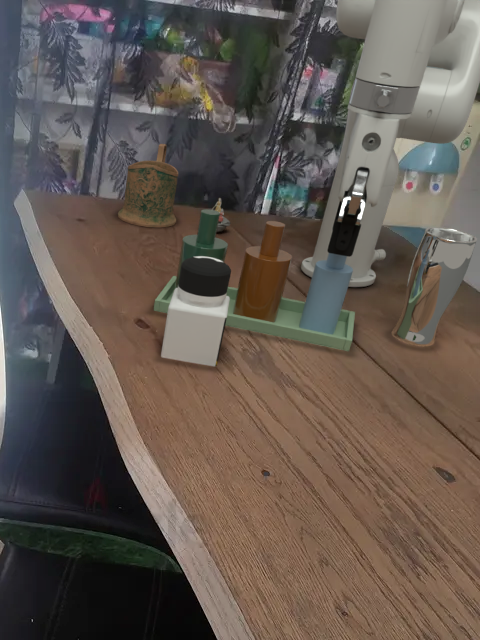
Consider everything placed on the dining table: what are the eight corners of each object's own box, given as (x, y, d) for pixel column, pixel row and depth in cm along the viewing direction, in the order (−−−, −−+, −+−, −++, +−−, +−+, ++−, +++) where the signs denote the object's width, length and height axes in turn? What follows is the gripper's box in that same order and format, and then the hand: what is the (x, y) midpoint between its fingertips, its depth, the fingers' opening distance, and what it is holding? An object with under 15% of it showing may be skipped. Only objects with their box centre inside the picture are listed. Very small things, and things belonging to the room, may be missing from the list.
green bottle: (196, 293, 112) (212, 203, 105) (224, 308, 108) (243, 216, 101) (164, 298, 109) (177, 207, 101) (192, 314, 105) (208, 220, 97)
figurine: (226, 229, 144) (232, 196, 141) (230, 235, 141) (237, 202, 137) (199, 226, 144) (205, 194, 140) (203, 233, 140) (209, 200, 137)
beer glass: (436, 336, 108) (476, 232, 99) (437, 354, 103) (480, 246, 94) (387, 326, 110) (423, 223, 101) (386, 343, 104) (424, 235, 95)
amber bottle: (254, 304, 111) (275, 215, 103) (285, 320, 107) (309, 228, 99) (223, 311, 107) (242, 218, 100) (254, 327, 103) (276, 232, 96)
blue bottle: (314, 319, 108) (337, 240, 101) (341, 332, 105) (366, 251, 98) (291, 325, 105) (313, 243, 98) (318, 338, 102) (342, 255, 95)
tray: (351, 324, 109) (355, 311, 108) (348, 354, 100) (352, 340, 99) (171, 288, 114) (173, 275, 113) (152, 313, 105) (154, 299, 104)
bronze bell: (183, 208, 153) (193, 145, 146) (171, 230, 139) (181, 162, 132) (129, 200, 155) (136, 137, 148) (112, 221, 141) (119, 153, 134)
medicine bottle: (215, 370, 92) (235, 275, 85) (159, 360, 93) (174, 265, 86) (219, 347, 98) (238, 257, 91) (166, 338, 99) (181, 248, 91)
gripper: (416, 115, 81) (368, 269, 91) (413, 93, 94) (371, 229, 104) (347, 105, 82) (307, 258, 93) (353, 85, 95) (318, 220, 106)
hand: (341, 242), depth 99 cm, fingers open, 9 cm apart
